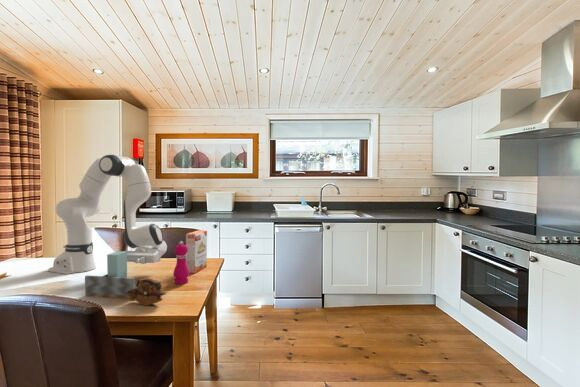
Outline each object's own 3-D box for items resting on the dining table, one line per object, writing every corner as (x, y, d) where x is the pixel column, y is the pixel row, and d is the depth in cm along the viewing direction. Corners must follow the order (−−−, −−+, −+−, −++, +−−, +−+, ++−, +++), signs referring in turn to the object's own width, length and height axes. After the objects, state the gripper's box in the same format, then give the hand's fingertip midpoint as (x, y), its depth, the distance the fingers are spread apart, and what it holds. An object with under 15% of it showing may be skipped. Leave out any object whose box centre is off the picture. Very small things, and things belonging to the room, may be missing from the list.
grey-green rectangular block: (107, 292, 139) (107, 254, 139) (117, 287, 146) (117, 251, 145) (117, 292, 139) (116, 255, 138) (127, 287, 145) (126, 251, 144)
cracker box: (195, 273, 172) (195, 234, 171) (185, 273, 174) (184, 233, 173) (207, 266, 186) (207, 230, 185) (197, 266, 187) (197, 229, 186)
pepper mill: (180, 285, 153) (180, 243, 152) (170, 283, 157) (169, 241, 156) (192, 281, 159) (192, 240, 158) (182, 279, 163) (182, 239, 162)
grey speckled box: (85, 296, 138) (84, 276, 138) (113, 282, 156) (113, 265, 156) (133, 299, 135) (133, 279, 135) (157, 285, 153) (157, 267, 153)
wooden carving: (123, 304, 129) (123, 279, 129) (131, 300, 134) (131, 276, 133) (162, 308, 127) (162, 282, 126) (168, 303, 131) (168, 279, 131)
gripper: (124, 246, 163) (105, 253, 149) (163, 248, 160) (147, 254, 146) (125, 259, 163) (105, 266, 150) (163, 261, 160) (147, 268, 147)
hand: (126, 260), depth 148 cm, fingers open, 8 cm apart
